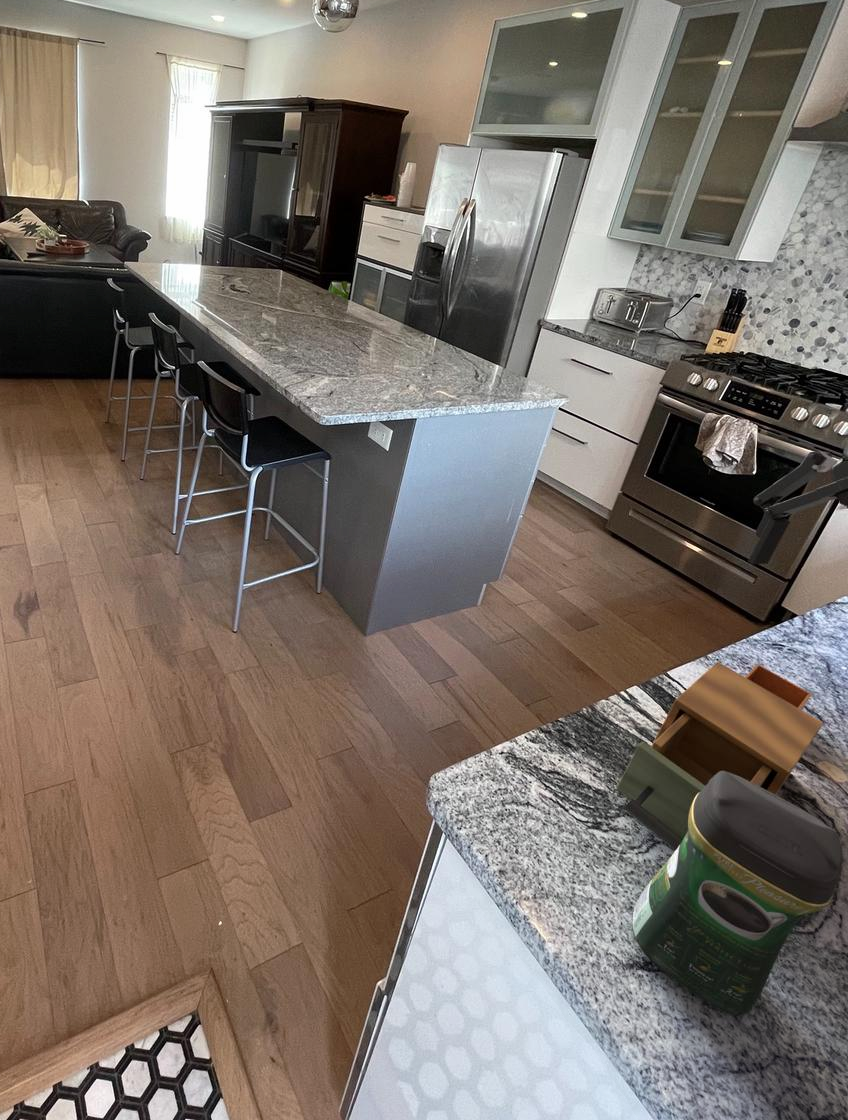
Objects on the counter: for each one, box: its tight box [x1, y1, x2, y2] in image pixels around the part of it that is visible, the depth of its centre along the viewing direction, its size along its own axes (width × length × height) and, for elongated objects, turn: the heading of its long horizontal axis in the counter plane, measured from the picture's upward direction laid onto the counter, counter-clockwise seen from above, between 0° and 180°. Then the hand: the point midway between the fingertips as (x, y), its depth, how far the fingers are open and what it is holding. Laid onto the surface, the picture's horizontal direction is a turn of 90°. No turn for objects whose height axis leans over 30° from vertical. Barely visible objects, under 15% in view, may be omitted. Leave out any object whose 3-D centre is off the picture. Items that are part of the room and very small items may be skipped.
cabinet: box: [650, 661, 824, 796], centre depth 76 cm, size 14×12×9 cm
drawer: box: [616, 712, 773, 852], centre depth 68 cm, size 17×10×7 cm, turn 127°
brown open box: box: [744, 663, 813, 711], centre depth 87 cm, size 6×6×5 cm
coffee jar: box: [631, 771, 844, 1016], centre depth 53 cm, size 10×8×19 cm
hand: (809, 594), depth 77 cm, fingers open, 13 cm apart
